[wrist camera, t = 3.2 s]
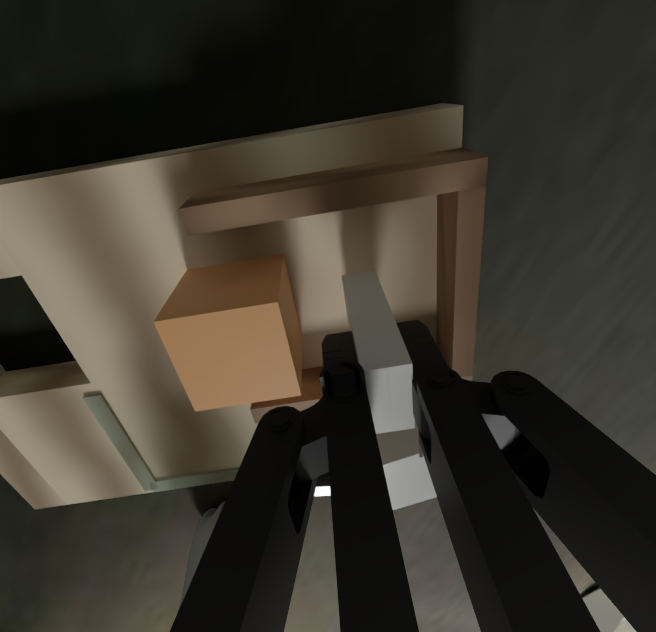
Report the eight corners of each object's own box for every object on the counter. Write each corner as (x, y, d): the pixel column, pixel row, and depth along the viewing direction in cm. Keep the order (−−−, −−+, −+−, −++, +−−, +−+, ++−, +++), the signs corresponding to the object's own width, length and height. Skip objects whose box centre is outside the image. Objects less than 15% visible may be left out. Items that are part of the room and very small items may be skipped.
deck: (55, 477, 28) (32, 512, 25) (-173, 209, 17) (-246, 227, 15) (439, 420, 27) (452, 451, 25) (442, 103, 16) (465, 105, 14)
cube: (216, 348, 19) (195, 411, 16) (186, 269, 17) (153, 321, 13) (301, 334, 19) (301, 395, 16) (283, 253, 17) (277, 302, 13)
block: (369, 455, 25) (379, 514, 21) (346, 416, 23) (353, 474, 19) (427, 435, 24) (448, 493, 20) (409, 394, 22) (428, 450, 19)
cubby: (259, 389, 21) (255, 423, 19) (195, 192, 15) (177, 209, 13) (454, 360, 21) (471, 391, 19) (461, 147, 15) (487, 157, 13)
